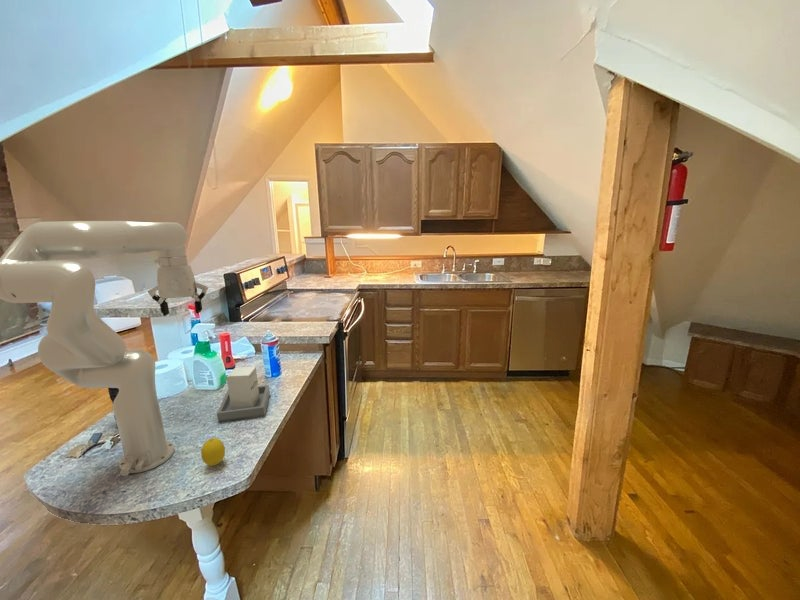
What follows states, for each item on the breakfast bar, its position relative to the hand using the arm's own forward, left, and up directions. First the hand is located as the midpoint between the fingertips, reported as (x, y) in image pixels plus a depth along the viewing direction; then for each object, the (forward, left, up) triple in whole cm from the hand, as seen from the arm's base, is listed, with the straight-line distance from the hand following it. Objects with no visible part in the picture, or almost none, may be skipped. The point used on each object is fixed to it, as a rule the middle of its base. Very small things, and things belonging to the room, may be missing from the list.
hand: (182, 313), depth 118 cm
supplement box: (-7, -17, -32) cm, 37 cm away
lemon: (-36, -14, -34) cm, 51 cm away
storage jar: (-6, +17, -34) cm, 38 cm away
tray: (-7, -17, -33) cm, 38 cm away
